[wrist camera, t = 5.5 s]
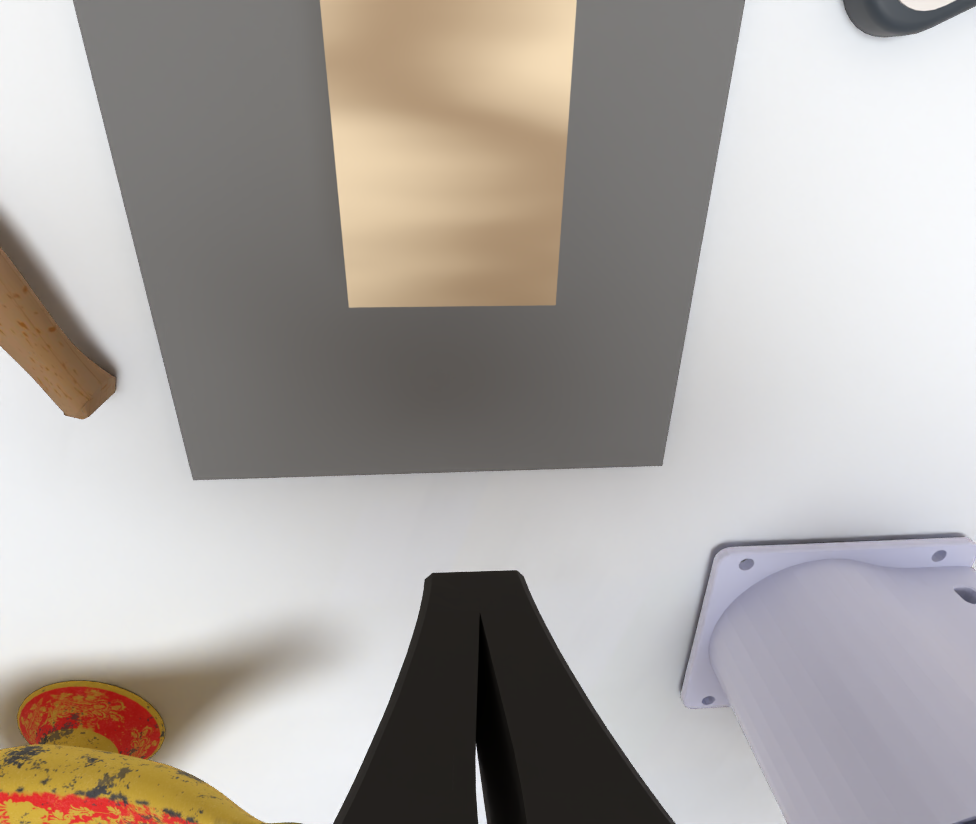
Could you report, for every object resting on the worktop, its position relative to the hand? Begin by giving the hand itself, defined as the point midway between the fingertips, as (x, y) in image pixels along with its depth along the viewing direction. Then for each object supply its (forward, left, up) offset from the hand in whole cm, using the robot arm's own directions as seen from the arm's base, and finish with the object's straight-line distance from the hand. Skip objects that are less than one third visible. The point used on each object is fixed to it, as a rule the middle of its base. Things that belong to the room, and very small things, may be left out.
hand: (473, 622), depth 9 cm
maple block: (0, -3, -7) cm, 8 cm away
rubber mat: (+1, -4, -9) cm, 10 cm away
